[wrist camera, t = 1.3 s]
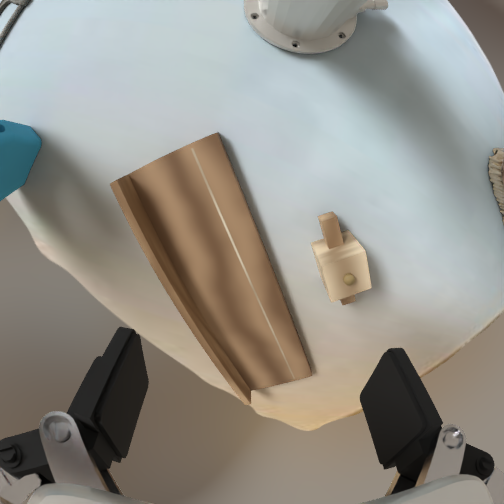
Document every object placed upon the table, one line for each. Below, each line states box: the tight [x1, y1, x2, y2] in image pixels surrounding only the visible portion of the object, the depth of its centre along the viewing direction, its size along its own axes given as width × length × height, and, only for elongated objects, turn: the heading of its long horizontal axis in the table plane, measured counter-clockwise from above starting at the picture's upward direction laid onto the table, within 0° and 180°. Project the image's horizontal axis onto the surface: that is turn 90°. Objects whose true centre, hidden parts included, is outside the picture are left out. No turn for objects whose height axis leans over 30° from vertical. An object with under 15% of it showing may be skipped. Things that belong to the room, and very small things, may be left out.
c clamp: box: [0, 0, 30, 45], centre depth 15 cm, size 20×17×3 cm
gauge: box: [311, 211, 371, 305], centre depth 31 cm, size 5×12×7 cm, turn 21°
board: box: [110, 133, 312, 405], centre depth 34 cm, size 12×39×4 cm, turn 21°
